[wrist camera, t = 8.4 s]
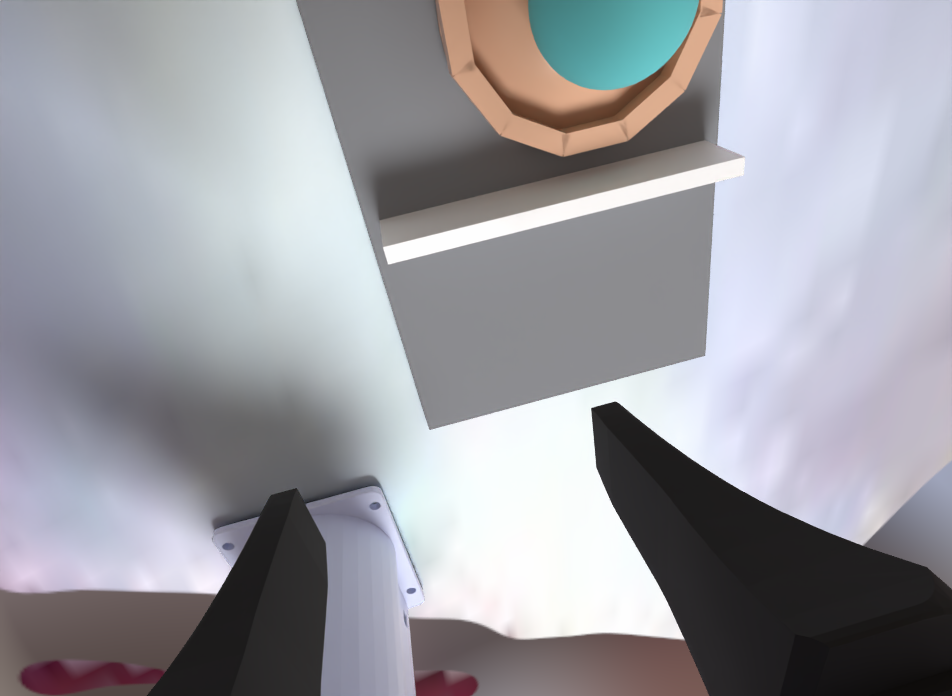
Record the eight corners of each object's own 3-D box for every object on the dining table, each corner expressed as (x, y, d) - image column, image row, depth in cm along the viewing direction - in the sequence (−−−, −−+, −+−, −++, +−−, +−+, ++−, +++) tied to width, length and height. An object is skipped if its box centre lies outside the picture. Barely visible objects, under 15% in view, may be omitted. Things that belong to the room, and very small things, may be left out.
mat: (700, 351, 26) (705, 355, 26) (428, 424, 25) (429, 429, 25) (728, -208, 15) (737, -212, 15) (263, -110, 15) (261, -112, 14)
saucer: (697, 113, 20) (716, 119, 19) (465, 169, 19) (471, 179, 18) (709, -216, 15) (735, -232, 14) (403, -152, 14) (407, -163, 13)
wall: (703, 157, 21) (743, 175, 18) (384, 236, 20) (387, 264, 18) (704, 140, 20) (745, 156, 18) (379, 220, 20) (382, 247, 17)
